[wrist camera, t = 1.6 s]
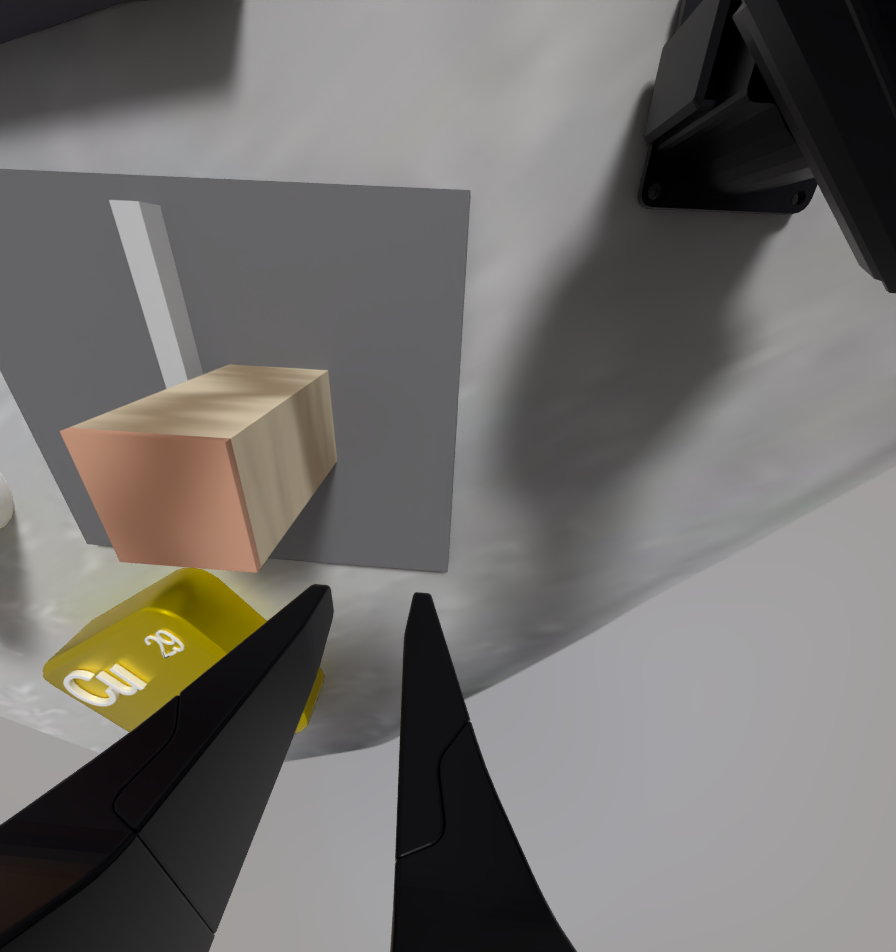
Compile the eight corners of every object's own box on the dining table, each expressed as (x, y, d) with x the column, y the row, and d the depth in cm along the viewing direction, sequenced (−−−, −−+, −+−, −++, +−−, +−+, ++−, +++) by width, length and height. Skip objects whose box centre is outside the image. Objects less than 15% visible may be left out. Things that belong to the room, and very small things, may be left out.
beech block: (328, 370, 19) (225, 442, 11) (337, 460, 22) (257, 572, 14) (229, 364, 19) (59, 431, 11) (249, 454, 22) (120, 561, 14)
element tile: (218, 721, 37) (186, 778, 33) (81, 625, 32) (20, 679, 28) (336, 675, 33) (316, 735, 29) (200, 554, 27) (149, 606, 23)
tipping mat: (470, 193, 16) (469, 184, 14) (448, 563, 26) (446, 585, 24) (-79, 168, 17) (-144, 157, 15) (97, 536, 26) (70, 555, 25)
